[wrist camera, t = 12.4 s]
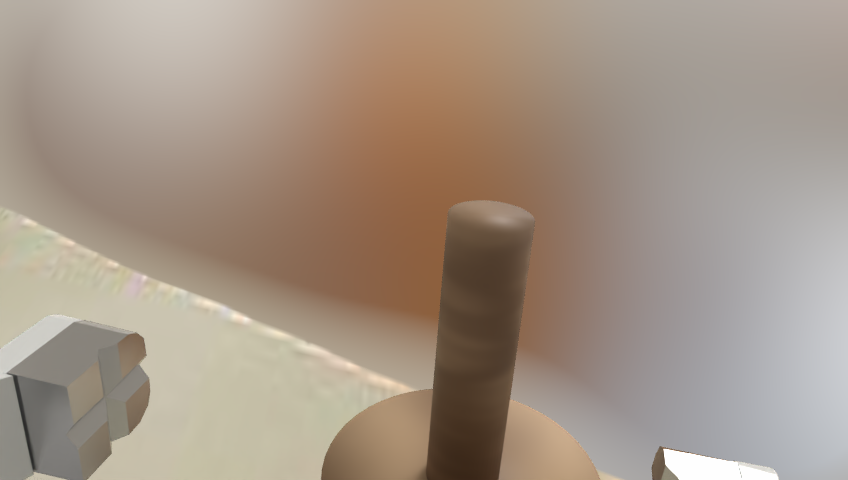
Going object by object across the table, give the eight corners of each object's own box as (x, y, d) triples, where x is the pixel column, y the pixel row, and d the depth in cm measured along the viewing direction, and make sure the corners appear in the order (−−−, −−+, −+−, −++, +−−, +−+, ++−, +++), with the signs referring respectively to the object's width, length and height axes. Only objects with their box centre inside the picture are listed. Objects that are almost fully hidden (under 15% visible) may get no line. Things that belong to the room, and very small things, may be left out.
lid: (349, 645, 19) (359, 318, 15) (303, 417, 28) (301, 167, 24) (659, 575, 22) (744, 282, 18) (530, 387, 31) (565, 159, 26)
